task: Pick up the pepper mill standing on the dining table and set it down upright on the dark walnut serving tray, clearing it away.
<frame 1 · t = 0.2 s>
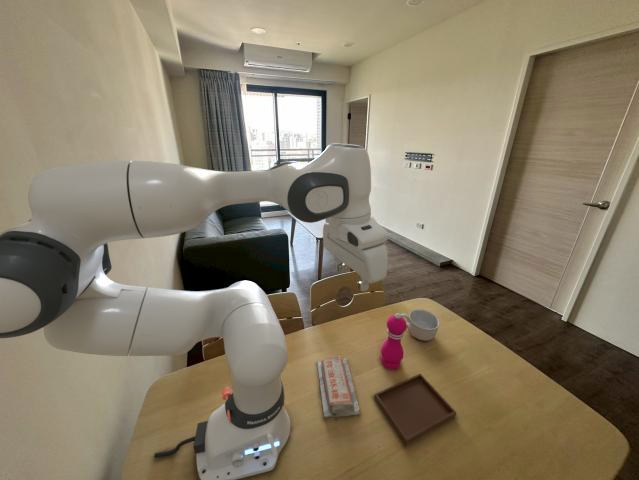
hand: (351, 279, 59), 39 cm above the table, tool pointing down, fingers open, 8 cm apart
packaged product: (336, 387, 76), on the table
tray: (413, 407, 70), on the table
pepper mill: (390, 362, 85), on the table
teacup: (416, 333, 97), on the table
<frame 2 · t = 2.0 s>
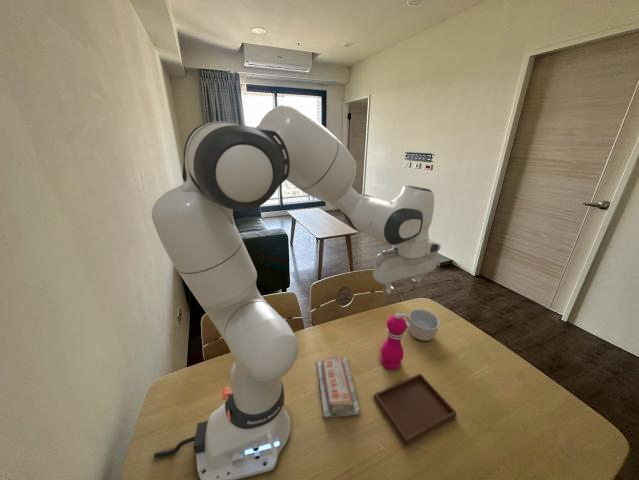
hand: (402, 288, 74), 29 cm above the table, tool pointing down, fingers open, 8 cm apart
nothing on the table moved.
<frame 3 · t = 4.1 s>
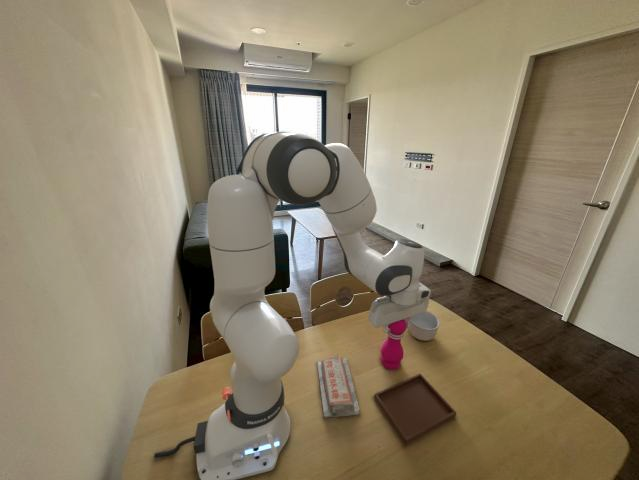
hand: (395, 328, 79), 14 cm above the table, tool pointing down, fingers closed on pepper mill, 6 cm apart
pepper mill: (390, 362, 85), on the table, touching gripper
everything else where it was.
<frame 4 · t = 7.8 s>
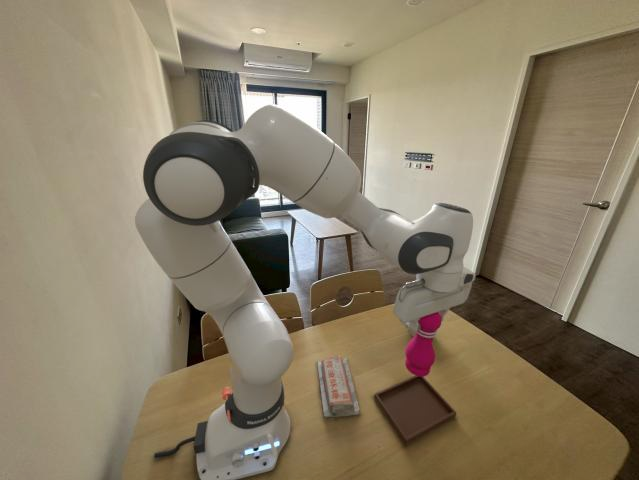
hand: (426, 324, 61), 28 cm above the table, tool pointing down, fingers closed on pepper mill, 6 cm apart
pepper mill: (417, 367, 67), point 13 cm above the table, touching gripper
everything else where it was.
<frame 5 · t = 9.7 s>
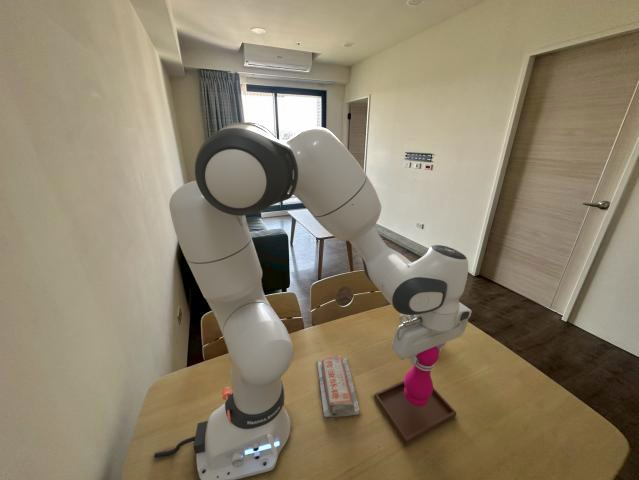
hand: (424, 357, 63), 19 cm above the table, tool pointing down, fingers closed on pepper mill, 6 cm apart
pepper mill: (415, 396, 69), point 5 cm above the table, touching gripper
everything else where it was.
when the fingers open (14 cm above the table, at t = 11.4 s): pepper mill stays where it is, resting on tray.
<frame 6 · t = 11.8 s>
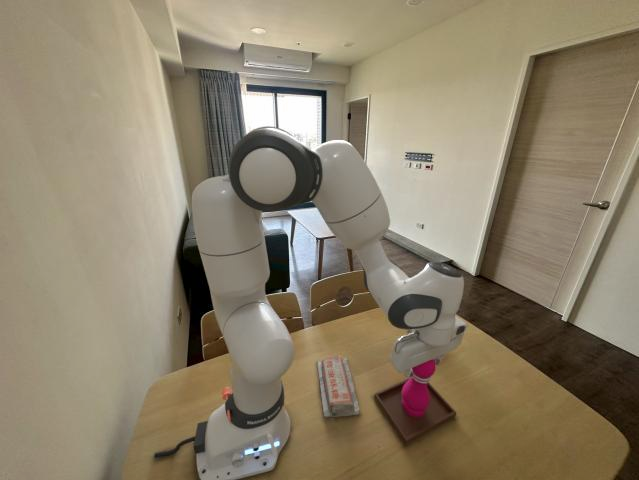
hand: (421, 369, 65), 15 cm above the table, tool pointing down, fingers open, 8 cm apart
pepper mill: (413, 406, 70), resting on tray
everything else where it was.
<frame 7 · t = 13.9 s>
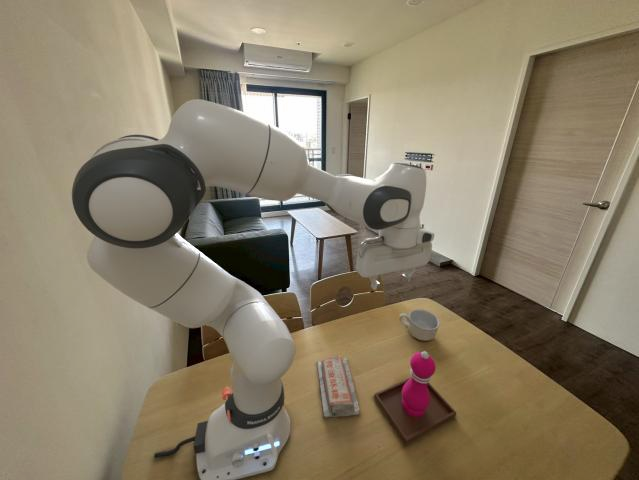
hand: (390, 284, 65), 35 cm above the table, tool pointing down, fingers open, 8 cm apart
nothing on the table moved.
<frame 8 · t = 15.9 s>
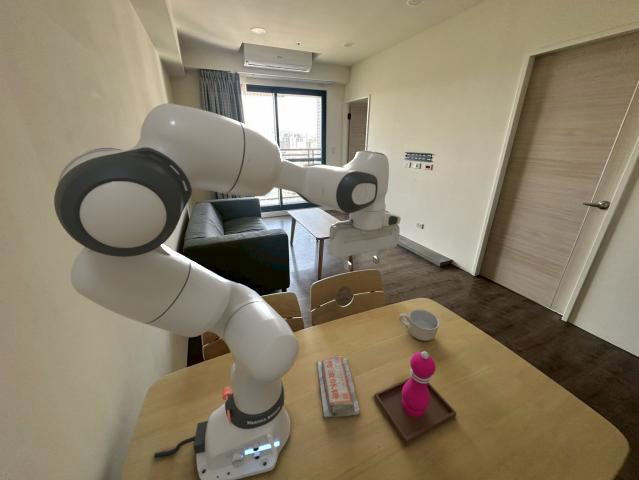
hand: (362, 265, 69), 37 cm above the table, tool pointing down, fingers open, 8 cm apart
nothing on the table moved.
at the end: pepper mill inside the target area in the tray (0.1 cm from its centre), point 0.2 cm above the tray's base; pepper mill tilted 0°; the gripper is holding nothing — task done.
